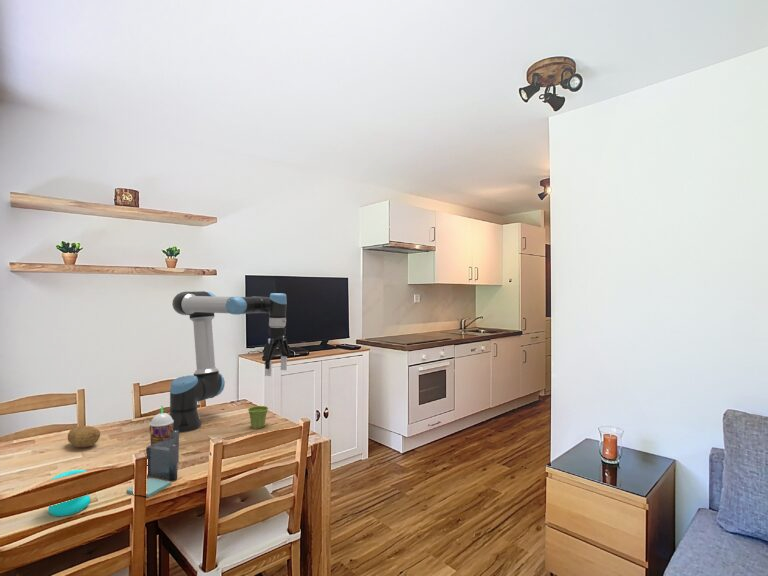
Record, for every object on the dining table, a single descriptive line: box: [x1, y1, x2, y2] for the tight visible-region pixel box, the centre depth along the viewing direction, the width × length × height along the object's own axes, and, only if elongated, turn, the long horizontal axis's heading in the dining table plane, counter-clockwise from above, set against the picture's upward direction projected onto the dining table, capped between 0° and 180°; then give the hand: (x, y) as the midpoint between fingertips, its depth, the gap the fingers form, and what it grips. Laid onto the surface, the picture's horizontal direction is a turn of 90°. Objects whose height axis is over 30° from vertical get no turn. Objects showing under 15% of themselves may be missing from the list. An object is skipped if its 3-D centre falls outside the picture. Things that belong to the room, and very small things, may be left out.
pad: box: [126, 477, 172, 498], centre depth 135 cm, size 9×9×1 cm
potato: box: [67, 425, 101, 448], centre depth 169 cm, size 10×14×8 cm
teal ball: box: [47, 469, 91, 517], centre depth 122 cm, size 10×10×10 cm
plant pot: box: [247, 405, 269, 430], centre depth 197 cm, size 9×9×9 cm
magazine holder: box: [145, 430, 180, 482], centre depth 149 cm, size 13×14×12 cm
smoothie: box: [149, 405, 174, 445], centre depth 160 cm, size 8×8×20 cm
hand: (276, 373), depth 188 cm, fingers open, 13 cm apart
